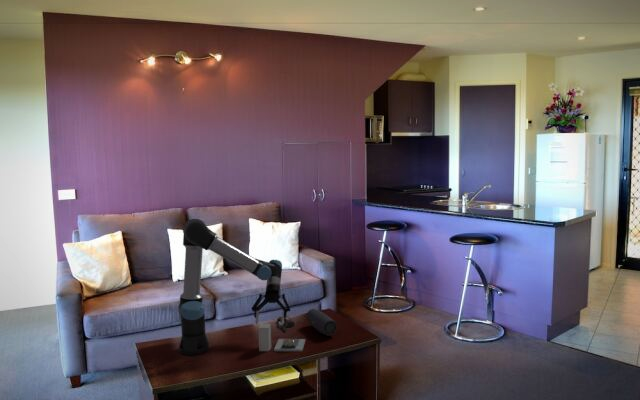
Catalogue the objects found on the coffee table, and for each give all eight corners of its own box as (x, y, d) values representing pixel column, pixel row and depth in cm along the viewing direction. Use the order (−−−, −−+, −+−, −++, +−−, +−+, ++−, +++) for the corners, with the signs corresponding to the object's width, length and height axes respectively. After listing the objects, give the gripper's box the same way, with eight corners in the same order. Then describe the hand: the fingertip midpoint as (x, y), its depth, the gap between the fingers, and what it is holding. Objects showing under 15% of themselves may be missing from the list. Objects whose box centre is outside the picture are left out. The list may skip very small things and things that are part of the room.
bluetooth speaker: (305, 326, 296) (304, 309, 295) (320, 323, 300) (319, 306, 299) (322, 339, 276) (321, 320, 275) (338, 336, 279) (337, 318, 278)
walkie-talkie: (273, 322, 305) (284, 333, 287) (273, 314, 305) (284, 325, 286) (288, 320, 308) (299, 330, 290) (287, 312, 308) (299, 323, 290)
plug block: (259, 351, 262) (258, 327, 260) (261, 346, 268) (260, 323, 266) (269, 351, 261) (268, 327, 260) (271, 346, 267) (270, 323, 266)
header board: (274, 351, 261) (274, 349, 261) (278, 340, 275) (278, 338, 275) (302, 351, 260) (302, 349, 260) (305, 341, 274) (305, 338, 273)
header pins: (281, 348, 262) (281, 340, 261) (282, 346, 263) (281, 339, 263) (295, 348, 261) (295, 340, 261) (295, 347, 263) (295, 339, 262)
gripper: (296, 290, 285) (294, 326, 272) (251, 290, 287) (246, 326, 274) (295, 283, 279) (292, 320, 266) (249, 283, 281) (244, 320, 268)
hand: (269, 323), depth 270 cm, fingers open, 13 cm apart
